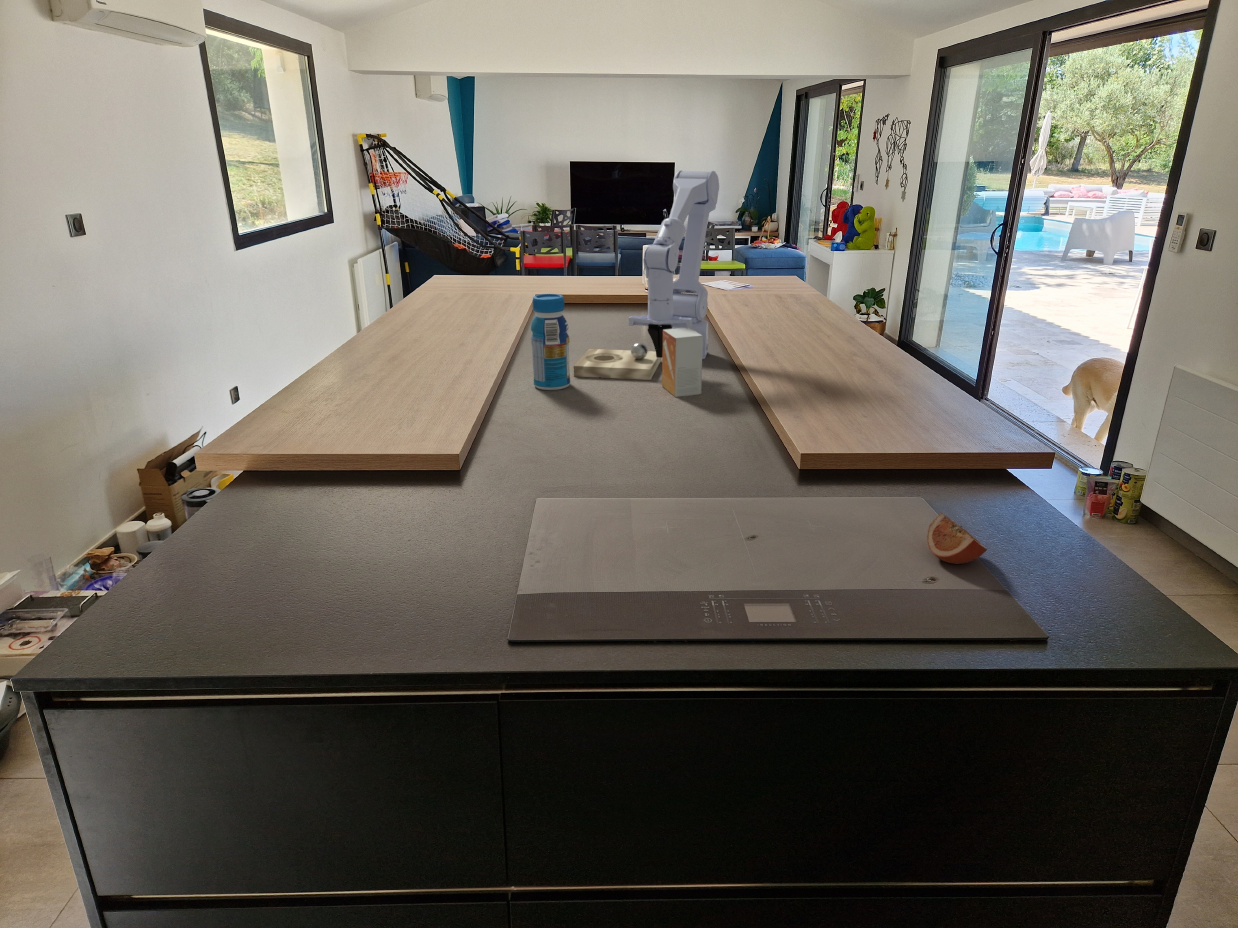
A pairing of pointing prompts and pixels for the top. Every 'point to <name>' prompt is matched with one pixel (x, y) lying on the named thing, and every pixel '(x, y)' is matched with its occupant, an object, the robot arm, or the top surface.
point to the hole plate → (616, 364)
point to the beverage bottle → (550, 343)
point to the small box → (682, 361)
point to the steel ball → (639, 351)
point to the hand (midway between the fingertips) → (659, 356)
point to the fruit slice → (952, 542)
